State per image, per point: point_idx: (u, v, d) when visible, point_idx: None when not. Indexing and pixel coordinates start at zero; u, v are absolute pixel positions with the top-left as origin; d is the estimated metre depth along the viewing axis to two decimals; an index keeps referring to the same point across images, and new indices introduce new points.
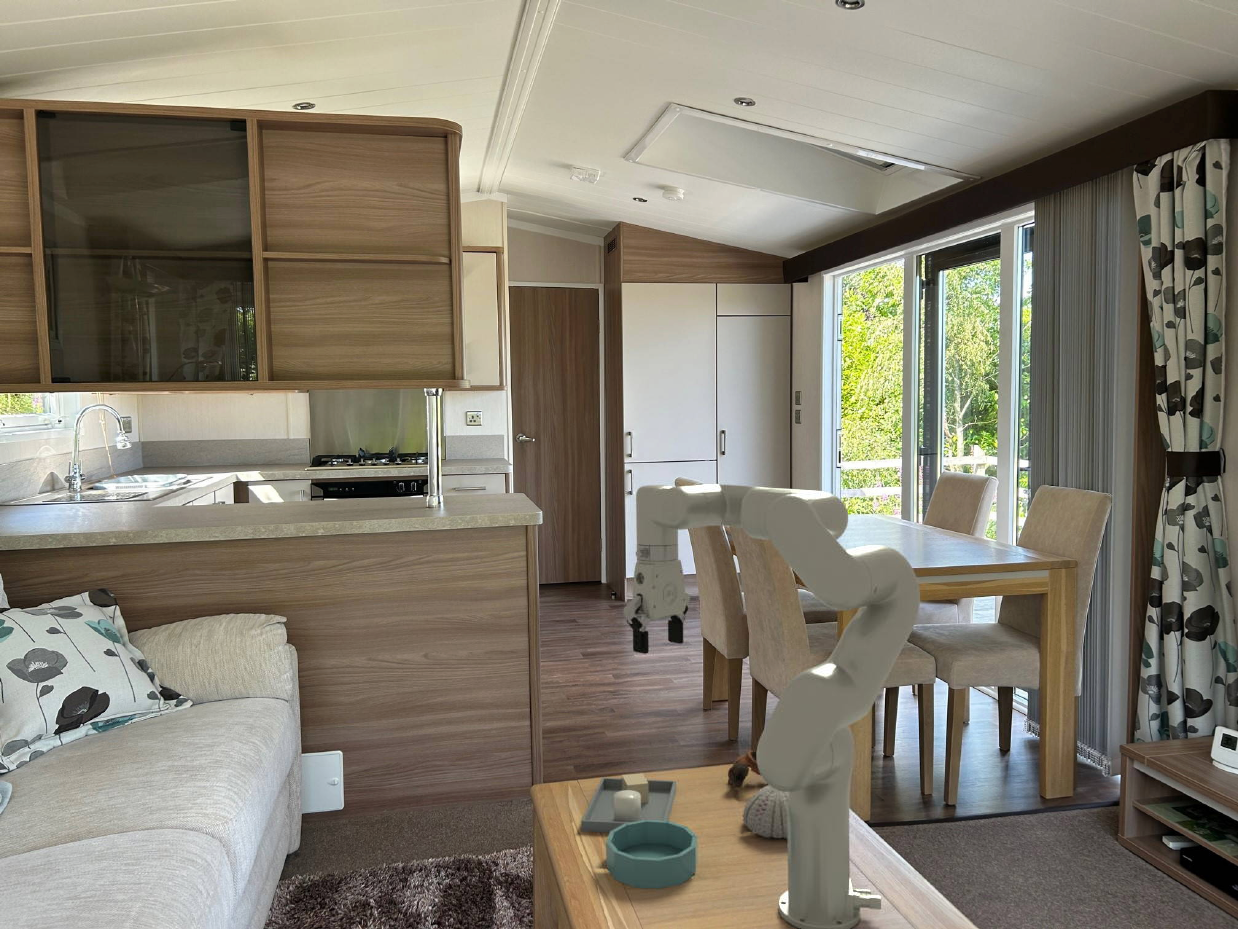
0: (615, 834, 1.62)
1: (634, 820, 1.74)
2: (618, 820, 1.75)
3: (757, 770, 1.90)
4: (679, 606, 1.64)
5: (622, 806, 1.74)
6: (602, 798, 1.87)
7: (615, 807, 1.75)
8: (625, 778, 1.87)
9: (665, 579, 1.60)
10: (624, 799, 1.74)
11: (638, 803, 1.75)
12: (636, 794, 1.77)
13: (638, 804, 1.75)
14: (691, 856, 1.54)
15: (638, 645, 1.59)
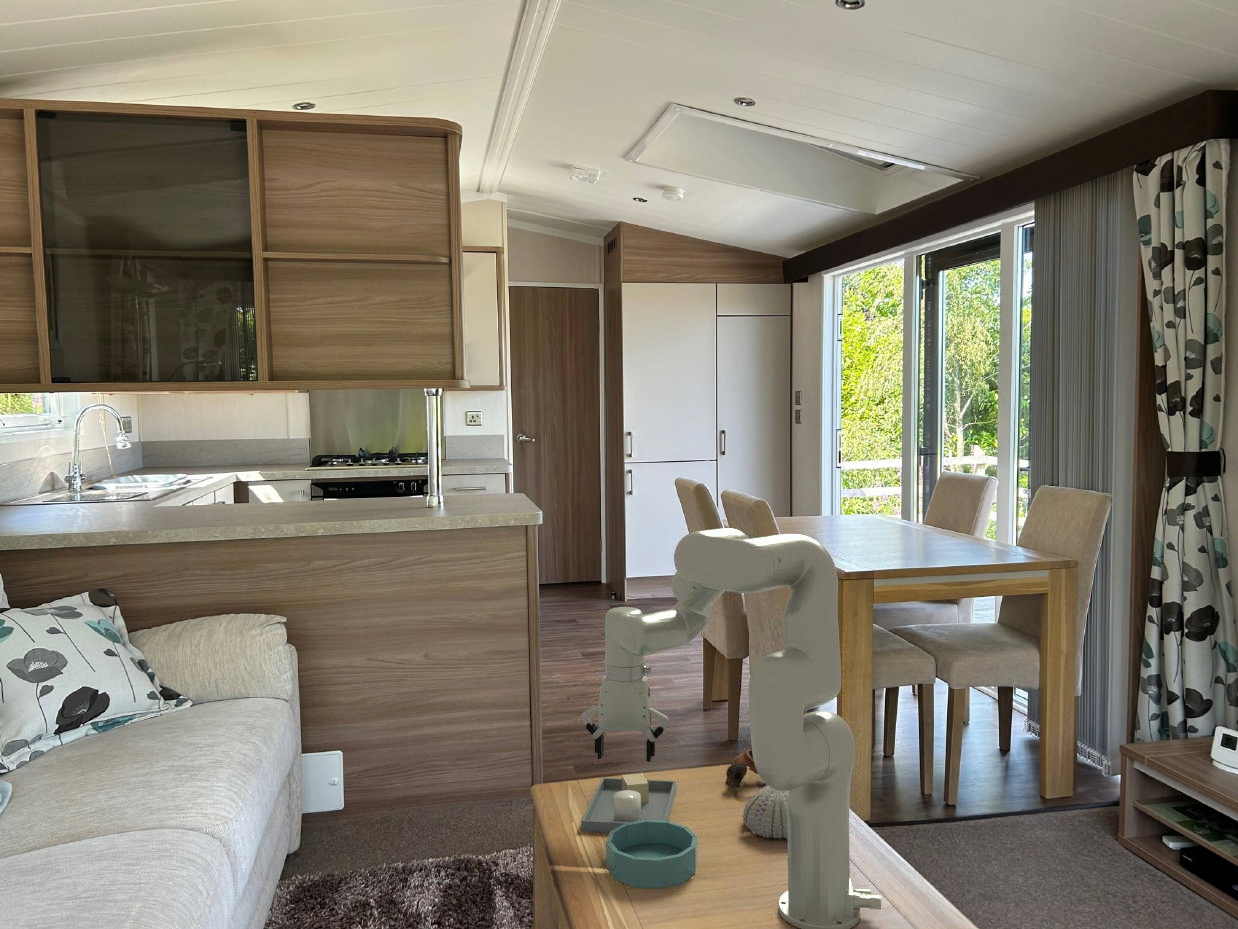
0: (615, 834, 1.62)
1: (634, 820, 1.74)
2: (618, 820, 1.75)
3: (755, 769, 1.91)
4: None
5: (622, 806, 1.74)
6: (602, 798, 1.87)
7: (615, 807, 1.75)
8: (625, 778, 1.87)
9: None
10: (624, 799, 1.74)
11: (638, 803, 1.75)
12: (636, 794, 1.77)
13: (638, 804, 1.75)
14: (691, 856, 1.54)
15: (654, 751, 1.76)
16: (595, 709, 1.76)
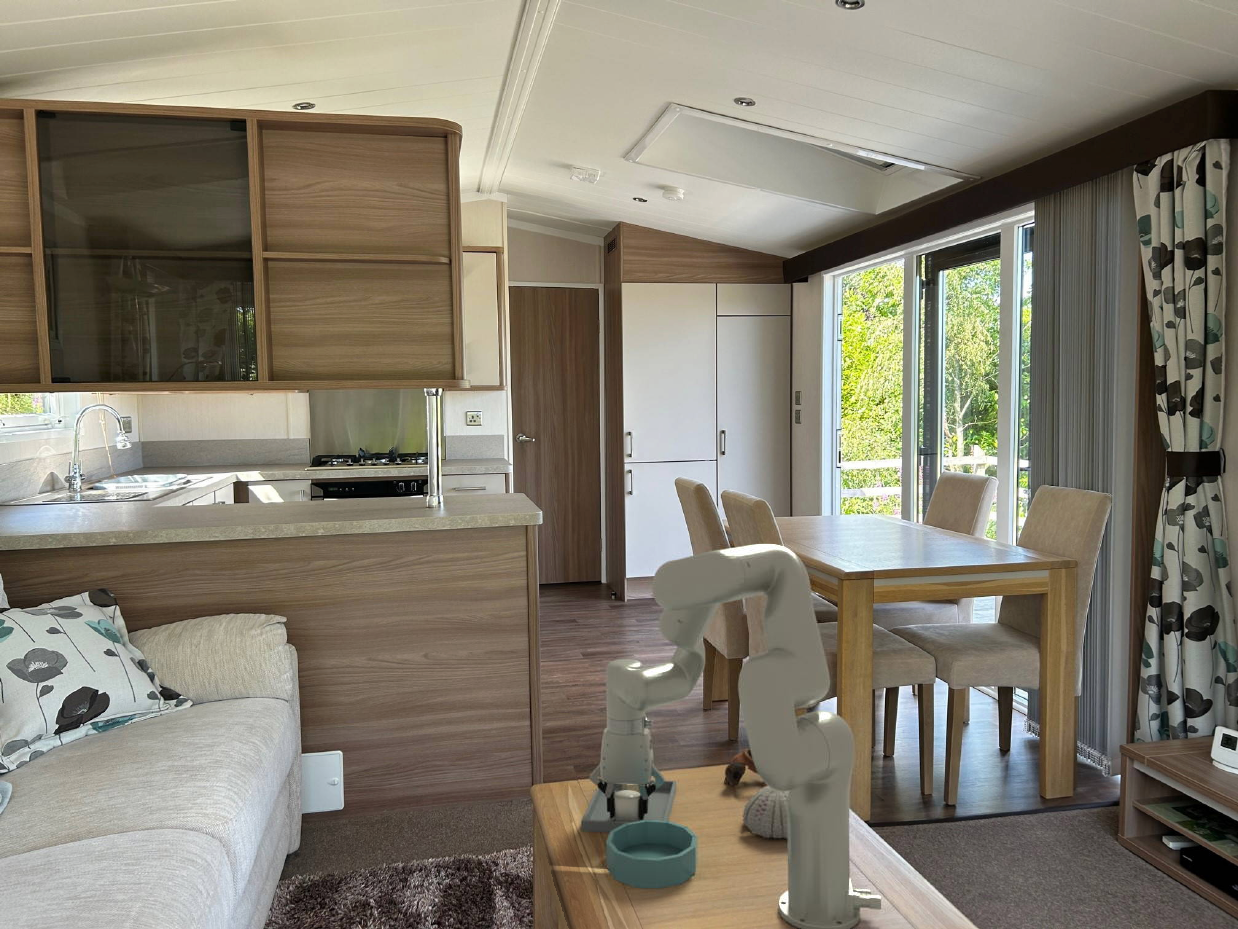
0: (615, 834, 1.62)
1: (634, 820, 1.74)
2: (618, 820, 1.75)
3: (754, 768, 1.91)
4: None
5: (622, 806, 1.74)
6: (602, 798, 1.87)
7: (615, 807, 1.75)
8: None
9: None
10: (624, 799, 1.74)
11: (638, 803, 1.75)
12: (636, 794, 1.77)
13: (638, 804, 1.75)
14: (691, 856, 1.54)
15: (647, 809, 1.76)
16: (599, 766, 1.76)
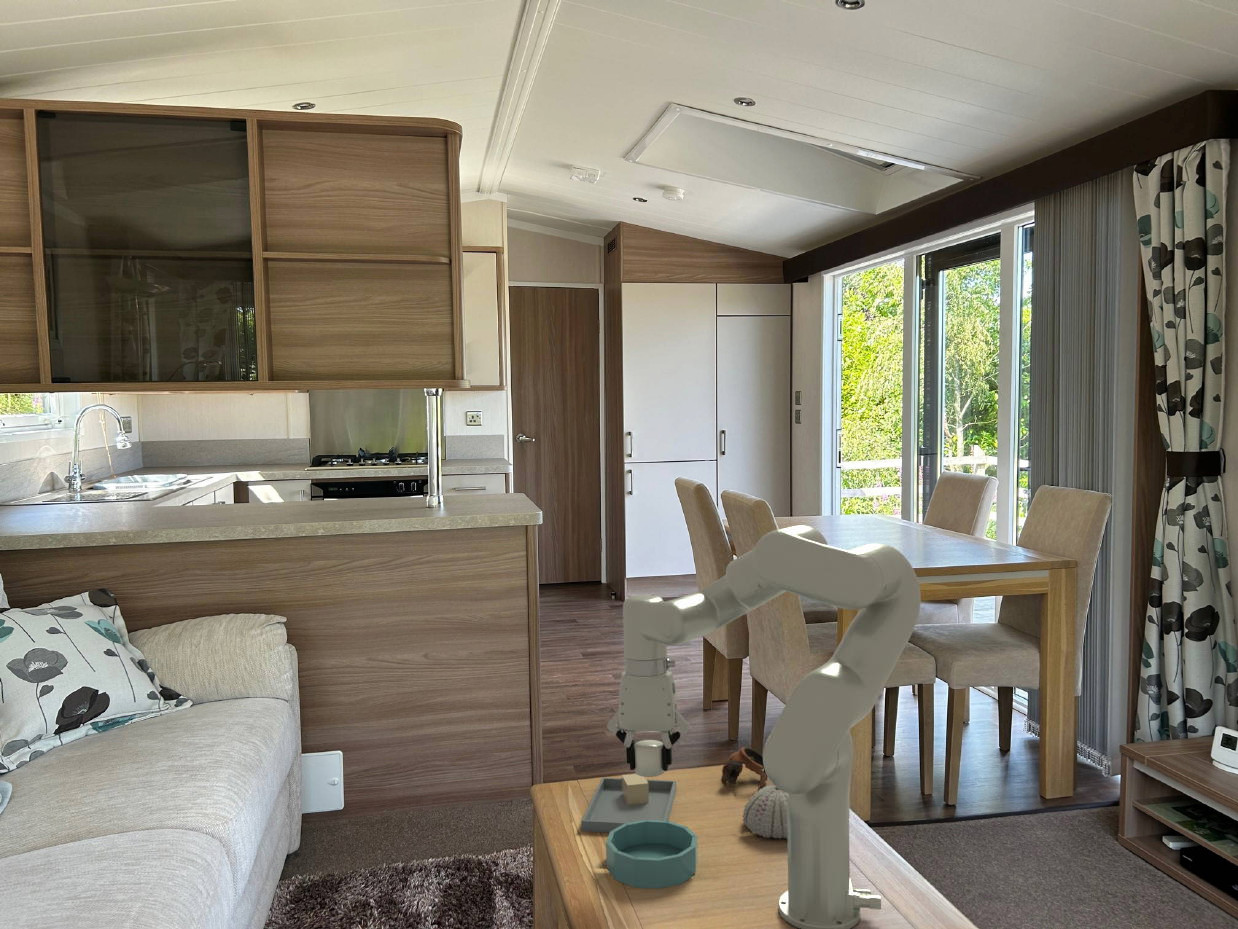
0: (615, 834, 1.62)
1: (657, 771, 1.58)
2: (639, 771, 1.58)
3: (751, 766, 1.92)
4: None
5: (644, 756, 1.58)
6: (602, 798, 1.87)
7: (636, 757, 1.59)
8: (625, 778, 1.87)
9: None
10: (645, 748, 1.58)
11: (661, 752, 1.59)
12: (658, 743, 1.60)
13: (661, 753, 1.59)
14: (691, 856, 1.54)
15: (671, 759, 1.60)
16: (618, 713, 1.60)
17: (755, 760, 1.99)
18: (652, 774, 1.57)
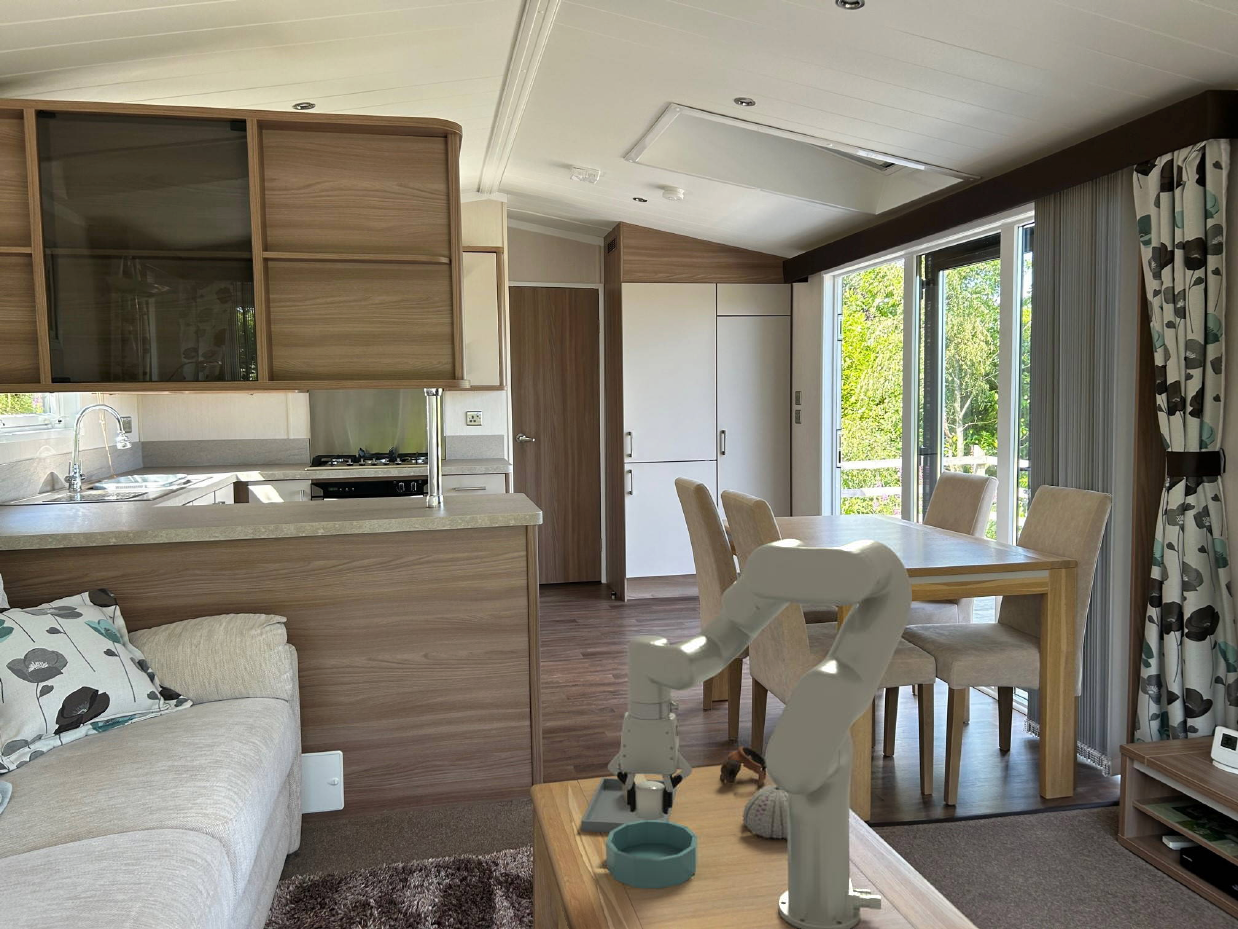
0: (615, 834, 1.62)
1: (657, 814, 1.56)
2: (640, 814, 1.57)
3: (749, 765, 1.93)
4: None
5: (645, 799, 1.56)
6: (602, 798, 1.87)
7: (636, 800, 1.57)
8: None
9: None
10: (647, 791, 1.56)
11: (662, 795, 1.57)
12: (660, 785, 1.59)
13: (662, 797, 1.57)
14: (691, 856, 1.54)
15: (672, 802, 1.58)
16: (619, 754, 1.58)
17: (753, 759, 2.00)
18: (653, 818, 1.56)
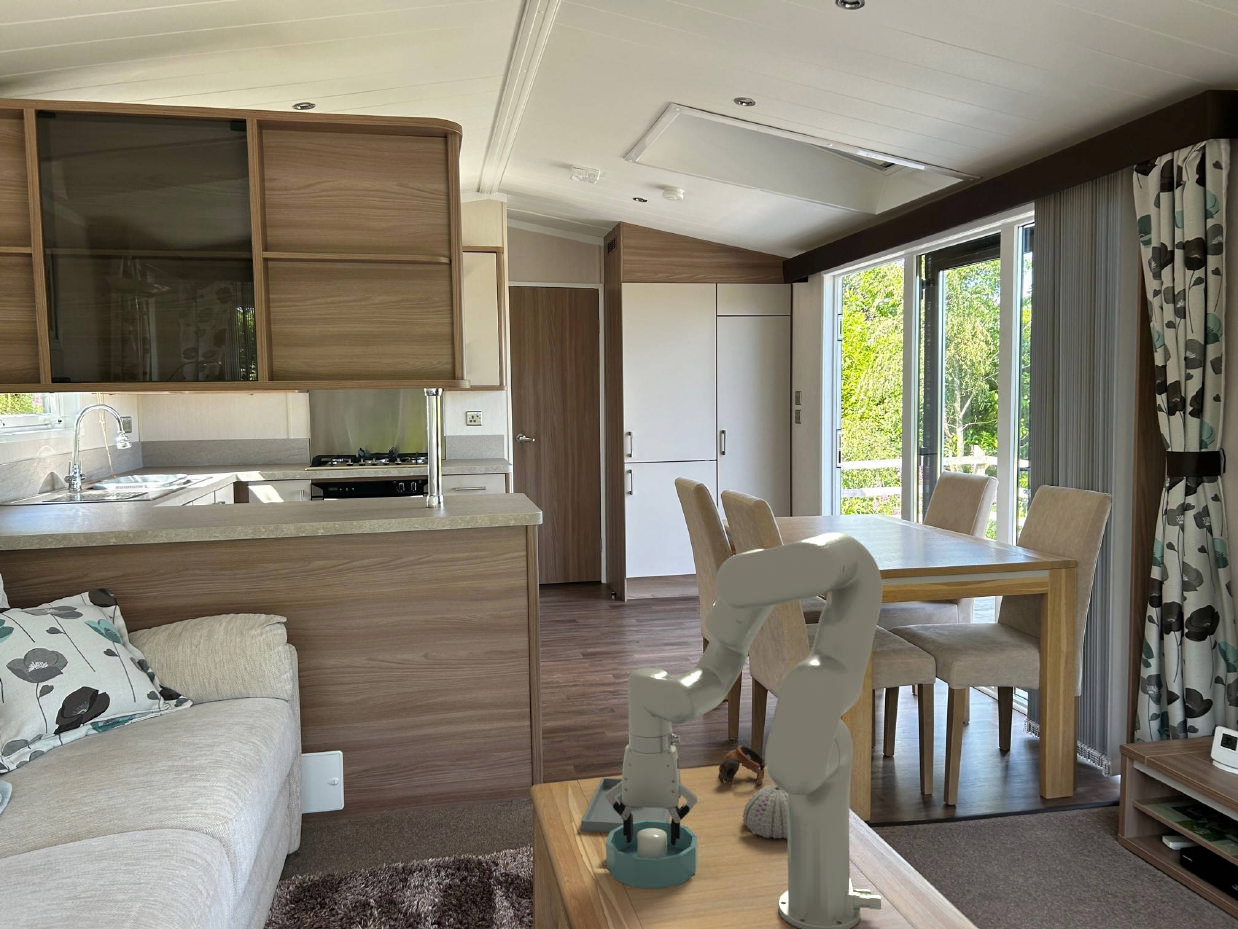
0: (615, 834, 1.62)
1: None
2: None
3: (747, 765, 1.93)
4: None
5: (647, 847, 1.56)
6: (602, 798, 1.87)
7: (638, 848, 1.57)
8: None
9: None
10: (649, 839, 1.56)
11: (664, 843, 1.57)
12: (662, 833, 1.59)
13: (664, 845, 1.57)
14: (691, 856, 1.54)
15: None
16: (619, 785, 1.58)
17: (751, 758, 2.01)
18: None
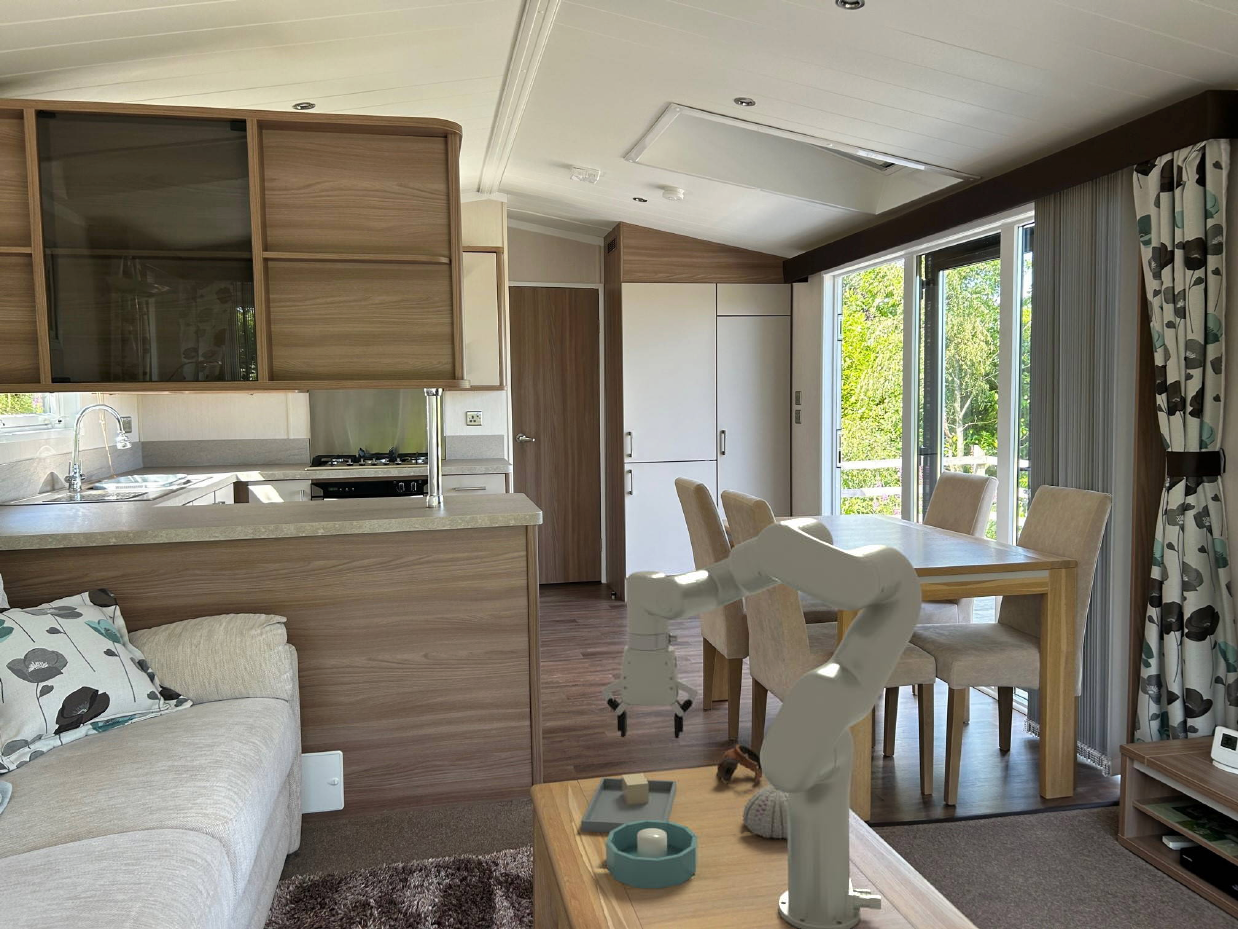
0: (615, 834, 1.62)
1: None
2: None
3: (746, 764, 1.94)
4: None
5: (647, 847, 1.56)
6: (602, 798, 1.87)
7: (639, 848, 1.57)
8: (625, 778, 1.87)
9: None
10: (649, 839, 1.56)
11: (664, 844, 1.57)
12: (662, 833, 1.59)
13: (664, 845, 1.57)
14: (691, 856, 1.54)
15: None
16: (617, 683, 1.62)
17: (749, 757, 2.01)
18: None
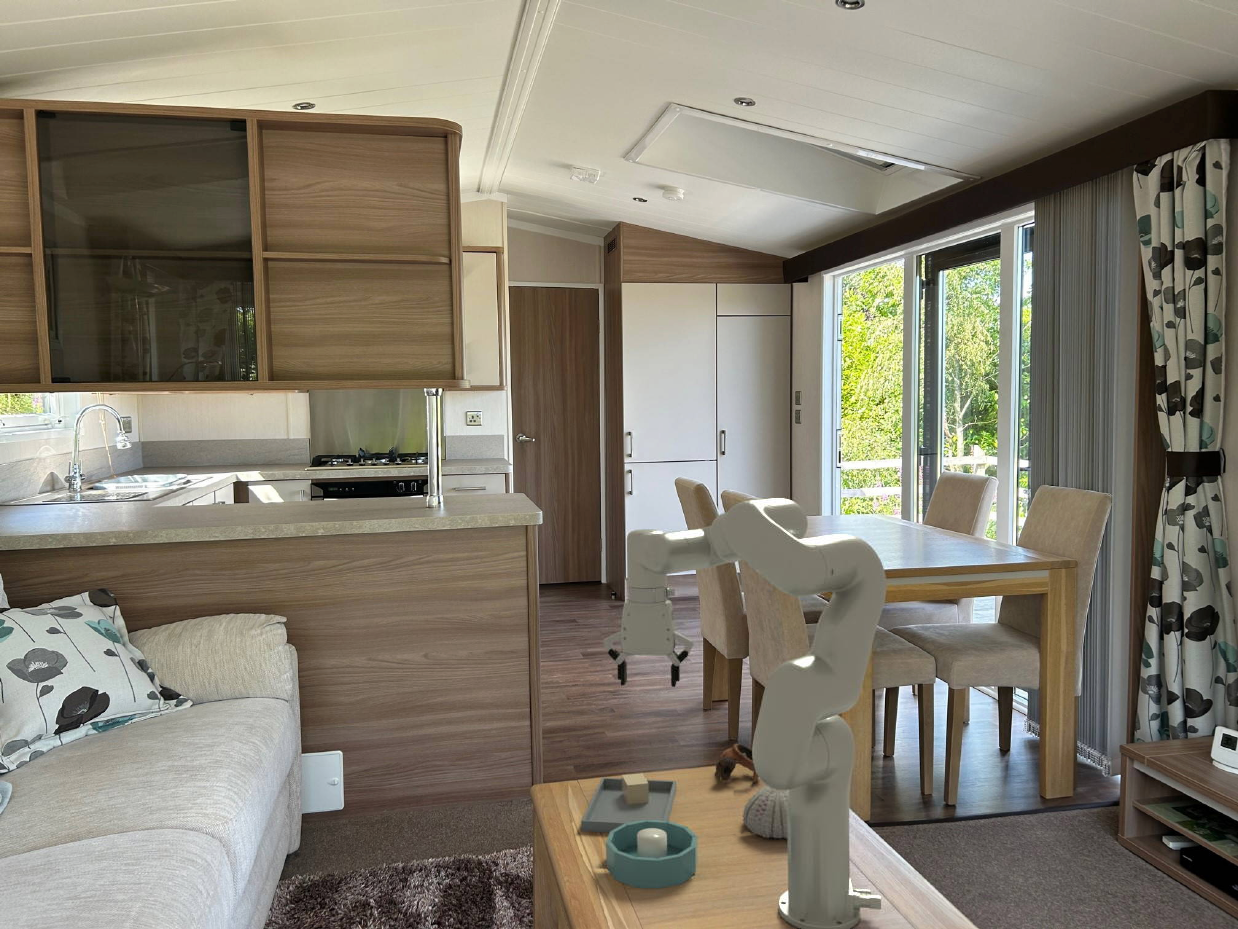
0: (615, 834, 1.62)
1: None
2: None
3: (744, 763, 1.95)
4: None
5: (647, 847, 1.56)
6: (602, 798, 1.87)
7: (638, 848, 1.57)
8: (625, 778, 1.87)
9: None
10: (649, 839, 1.56)
11: (664, 843, 1.57)
12: (662, 833, 1.59)
13: (664, 845, 1.57)
14: (691, 856, 1.54)
15: (679, 677, 1.71)
16: (617, 634, 1.72)
17: (747, 756, 2.02)
18: None
